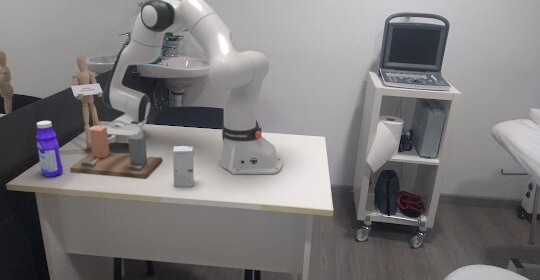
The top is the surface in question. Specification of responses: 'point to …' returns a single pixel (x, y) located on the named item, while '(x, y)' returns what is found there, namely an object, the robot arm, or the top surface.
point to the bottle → (48, 149)
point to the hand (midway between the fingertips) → (103, 142)
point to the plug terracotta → (99, 141)
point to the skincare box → (183, 166)
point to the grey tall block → (137, 150)
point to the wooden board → (116, 166)
